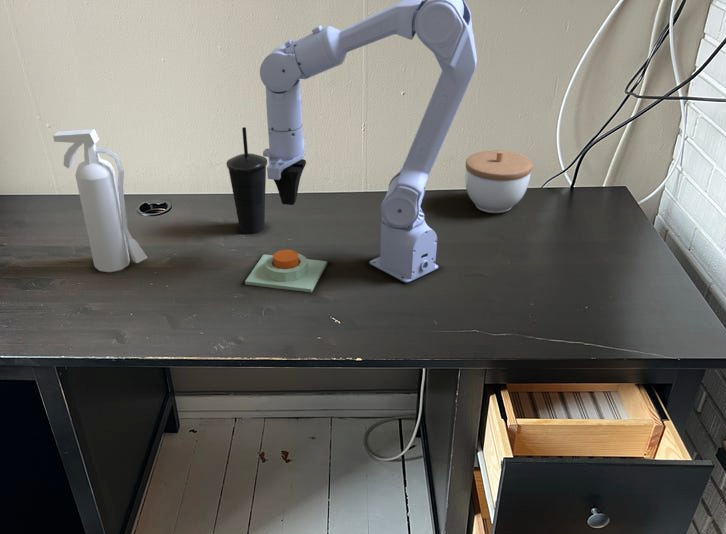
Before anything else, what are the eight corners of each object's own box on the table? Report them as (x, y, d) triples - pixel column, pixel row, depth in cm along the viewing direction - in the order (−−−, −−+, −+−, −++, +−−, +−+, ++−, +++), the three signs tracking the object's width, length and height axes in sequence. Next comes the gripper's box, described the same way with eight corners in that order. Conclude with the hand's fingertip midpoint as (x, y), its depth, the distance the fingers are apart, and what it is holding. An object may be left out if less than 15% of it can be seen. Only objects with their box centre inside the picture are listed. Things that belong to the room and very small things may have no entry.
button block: (326, 264, 132) (326, 252, 130) (311, 292, 124) (311, 279, 122) (263, 257, 135) (262, 245, 133) (245, 284, 127) (243, 272, 126)
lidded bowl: (537, 213, 144) (547, 159, 137) (478, 222, 142) (484, 168, 135) (507, 189, 154) (515, 137, 147) (451, 197, 152) (456, 145, 145)
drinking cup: (273, 220, 147) (267, 120, 135) (269, 237, 141) (262, 134, 129) (236, 220, 148) (226, 121, 136) (230, 237, 142) (219, 135, 130)
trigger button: (301, 259, 129) (301, 250, 128) (294, 271, 126) (294, 262, 125) (278, 256, 130) (277, 248, 129) (270, 268, 127) (269, 260, 126)
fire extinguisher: (141, 276, 131) (115, 138, 117) (79, 271, 134) (46, 136, 119) (154, 258, 137) (131, 124, 122) (94, 253, 139) (65, 122, 124)
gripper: (275, 110, 127) (280, 184, 135) (247, 139, 116) (253, 218, 124) (315, 112, 125) (317, 187, 133) (289, 142, 114) (293, 222, 122)
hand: (289, 203), depth 129 cm, fingers closed
